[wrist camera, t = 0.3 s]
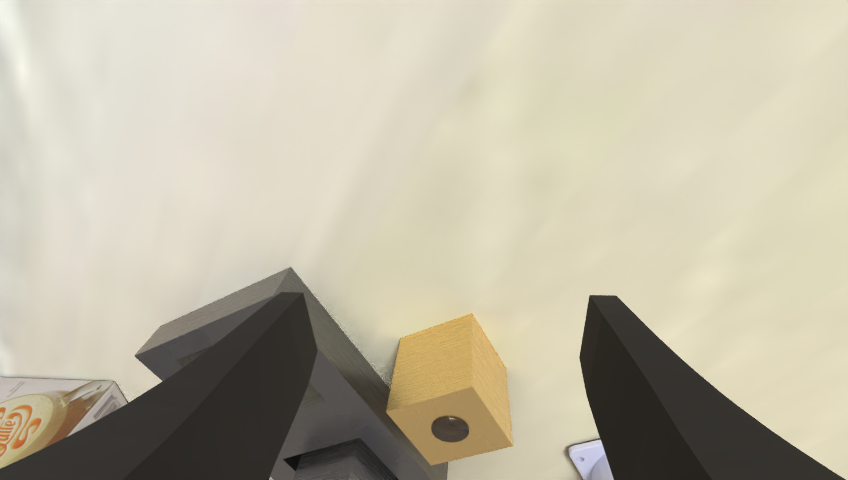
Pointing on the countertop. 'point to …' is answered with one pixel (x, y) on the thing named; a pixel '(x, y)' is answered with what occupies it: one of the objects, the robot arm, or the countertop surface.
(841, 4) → the countertop surface
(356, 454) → the zinc cube
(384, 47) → the countertop surface
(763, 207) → the countertop surface
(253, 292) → the grey square-hole board
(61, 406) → the coffee box
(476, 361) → the tan wooden block
